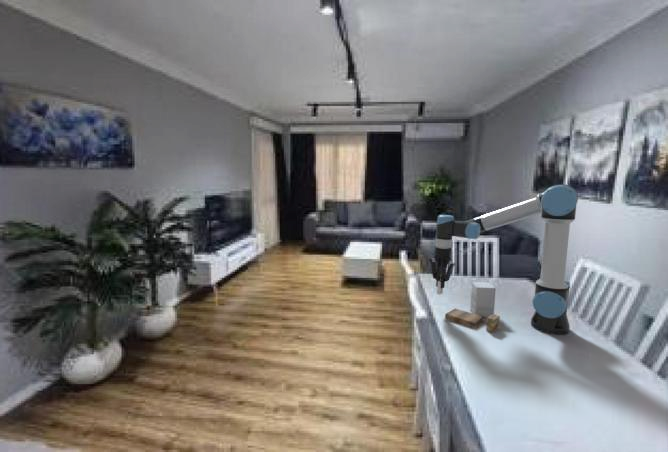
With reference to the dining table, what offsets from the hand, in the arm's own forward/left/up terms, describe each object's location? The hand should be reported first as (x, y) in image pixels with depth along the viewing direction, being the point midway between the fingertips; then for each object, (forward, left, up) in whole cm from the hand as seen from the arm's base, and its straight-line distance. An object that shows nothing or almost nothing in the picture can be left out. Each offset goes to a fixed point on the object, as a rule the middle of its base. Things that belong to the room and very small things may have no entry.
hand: (439, 293), depth 181 cm
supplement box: (-15, -14, -10) cm, 23 cm away
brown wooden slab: (-13, 0, -10) cm, 17 cm away
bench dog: (-27, 0, -10) cm, 29 cm away
